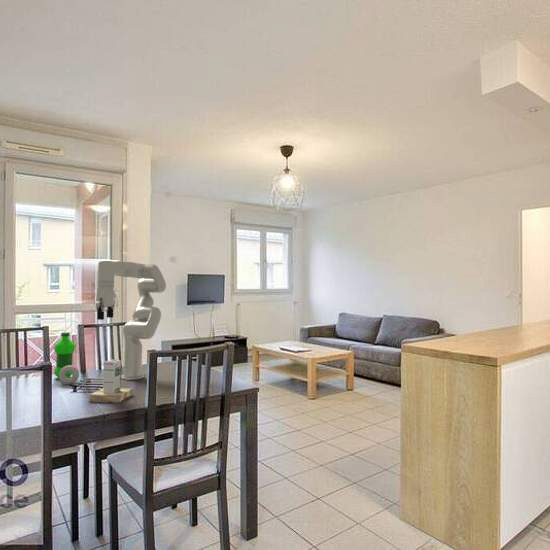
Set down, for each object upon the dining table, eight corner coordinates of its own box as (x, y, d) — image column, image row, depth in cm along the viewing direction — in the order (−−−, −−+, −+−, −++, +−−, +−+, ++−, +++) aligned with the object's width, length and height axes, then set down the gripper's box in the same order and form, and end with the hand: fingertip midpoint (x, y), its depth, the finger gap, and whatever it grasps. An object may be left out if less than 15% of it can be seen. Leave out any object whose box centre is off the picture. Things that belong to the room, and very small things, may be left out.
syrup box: (114, 393, 193) (115, 362, 193) (102, 392, 194) (103, 361, 194) (120, 390, 198) (121, 359, 198) (109, 389, 199) (110, 359, 199)
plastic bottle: (68, 374, 239) (70, 331, 240) (77, 377, 233) (78, 332, 233) (50, 377, 232) (51, 332, 232) (59, 380, 225) (60, 334, 225)
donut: (80, 383, 220) (80, 364, 221) (77, 385, 217) (78, 365, 217) (59, 383, 219) (60, 364, 219) (57, 385, 216) (58, 366, 216)
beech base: (104, 393, 204) (105, 387, 204) (132, 394, 202) (132, 388, 202) (89, 401, 190) (89, 394, 190) (118, 403, 188) (119, 396, 188)
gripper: (107, 284, 220) (106, 316, 220) (89, 284, 202) (89, 320, 203) (120, 284, 219) (120, 316, 219) (104, 285, 202) (104, 320, 202)
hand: (105, 318), depth 211 cm, fingers open, 9 cm apart
